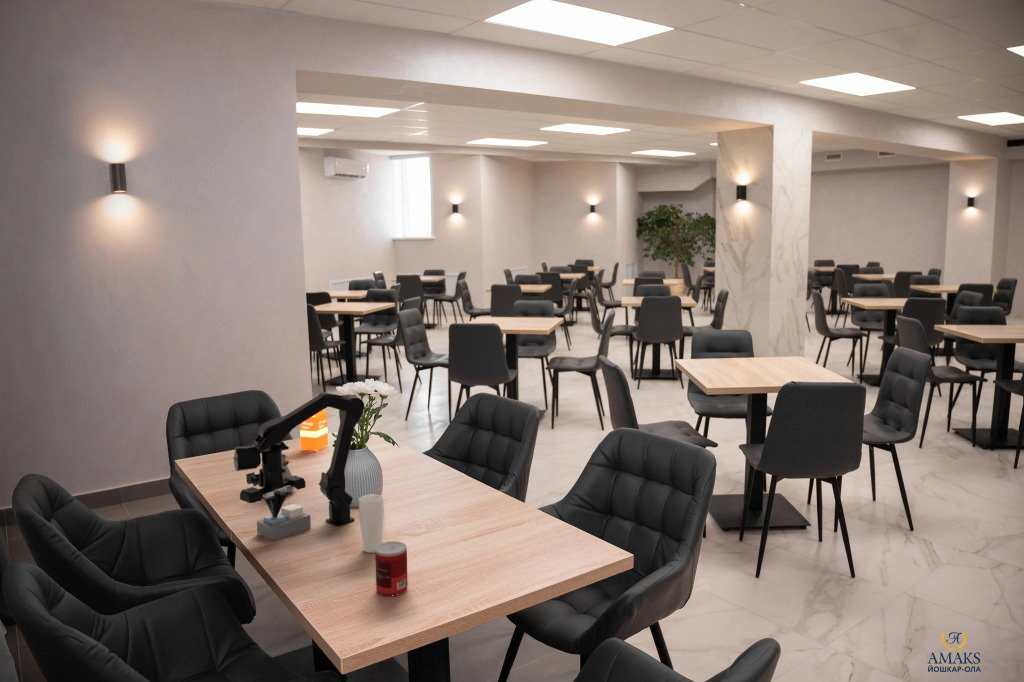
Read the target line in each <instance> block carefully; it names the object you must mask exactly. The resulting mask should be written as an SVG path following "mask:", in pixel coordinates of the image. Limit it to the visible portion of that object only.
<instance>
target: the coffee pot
mask: <svg viewBox="0 0 1024 682" xmlns="http://www.w3.org/2000/svg"><path fill="white" fill-rule="evenodd" d="M287 458H288V455H287V454H283V453H282V464H283V468H284V469H285V472H284V473H283V482H284V479H285V478H287V477H290V476H293V475H292V473H291V470H290V467H289V466H288V465H289V463H290V466H292V462H291V461H289V460H286V459H287ZM262 488H263V487H260V489H262ZM294 489H295V487H294V486H292V487H289V488H287V492H289V493H291V492H292V491H293V490H294ZM290 491H291V492H290Z"/></svg>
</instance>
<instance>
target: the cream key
mask: <svg viewBox="0 0 1024 682" xmlns="http://www.w3.org/2000/svg"><path fill="white" fill-rule="evenodd" d="M303 508H304V507H303V506H301V505H298V504H296V503H293V504H290V505H286V506H282V507H281V513H282V515H283V516H286V518H287V519H294V518H297V517H300V516H303V513H304V509H303Z"/></svg>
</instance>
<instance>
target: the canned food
mask: <svg viewBox="0 0 1024 682" xmlns="http://www.w3.org/2000/svg"><path fill="white" fill-rule="evenodd" d="M374 556H375V557H374V558H375V559H374V561H375V563H374V564H375V588H376V592H377V594H378V595H380V594H382V595H386V596H385V597H388V596H391V597H393V596H392V595H397V594H400V593H402V592H404V591H405V590H406V591H407V589H408V582H409V581H408V550H407V544H406V543H404V542H401V541H395V540H394V541H393V540H392V541H386V542H382V544H380V545H378V546H377V547H376V548H375V553H374ZM406 591H405V592H406ZM405 592H404V593H405ZM402 594H403V593H402ZM382 595H381V596H382ZM400 595H401V594H400ZM397 596H398V595H397Z"/></svg>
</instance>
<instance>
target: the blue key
mask: <svg viewBox="0 0 1024 682" xmlns="http://www.w3.org/2000/svg"><path fill="white" fill-rule="evenodd" d="M263 519H264V522H265V523H268V524H270V525H275V524H278V523H281V522H284V521H286V516H283V515H281V513H278V516H277V517H273V516H272V514H269V515H266V516H264V517H263Z"/></svg>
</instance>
